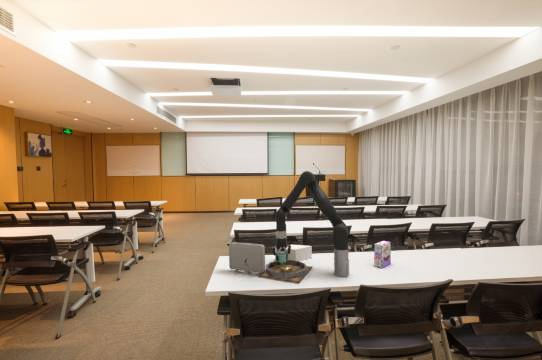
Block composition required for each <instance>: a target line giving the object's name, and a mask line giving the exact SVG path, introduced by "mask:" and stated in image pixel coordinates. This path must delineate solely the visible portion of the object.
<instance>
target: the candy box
mask: <svg viewBox="0 0 542 360" xmlns="http://www.w3.org/2000/svg"><path fill="white" fill-rule="evenodd" d="M373 246H374V247H373V248H374V252H373V255H374V256H373V257H374V258H373V259H374V261H373V262H374V267H375V268H376V267H377V268H380V269H383V268H386V267H387V266H389V265H391V264H392V263H391V261H392V260H391V258H392V257H391V253H392V252H391V241H386V240H382V241H379V242H377V243H374V244H373Z"/></svg>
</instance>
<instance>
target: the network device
mask: <svg viewBox="0 0 542 360" xmlns="http://www.w3.org/2000/svg"><path fill="white" fill-rule="evenodd" d="M265 247H266V246H265V245H264V244H260V243H252V242H251V243H249V242H236V241H233V242H231V243H229V245H228V260H229V262H228V263H229V264H228V265H229V269H230V270H234V271H233V274H234V275H242V276H250V277H259V274H261V273H262V272H263V271H265V270H266V251H265V250H266V248H265ZM238 271H240V272H238ZM241 271H243V272H241ZM252 273H256V274H252Z"/></svg>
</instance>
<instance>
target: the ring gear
mask: <svg viewBox="0 0 542 360" xmlns="http://www.w3.org/2000/svg"><path fill="white" fill-rule="evenodd" d="M284 264H287V265H289V264H290V265H295V266H300V267H301V268H303V270H300V271H298V272H293V273H285V272H283V273H279V272H276V271H272V270H271V269H270V268H271V267H274V266H276V265H281V264H280V262H278V261H275V260H274V261H270V262H268V263H267V264H265V270H266V272H267V274H268V275H270V276H272V277H277V278H283V279H286V278H297V277H300V276H303V275H305V274H306V272H307V266H308V265H306V263H305V262H303V261H301V262H300V261H295V260H286V262H283V265H284Z"/></svg>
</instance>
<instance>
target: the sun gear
mask: <svg viewBox="0 0 542 360" xmlns="http://www.w3.org/2000/svg"><path fill="white" fill-rule="evenodd" d="M292 271H293V266H289V265H283V266H280V272H288V273H290V272H292Z"/></svg>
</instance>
